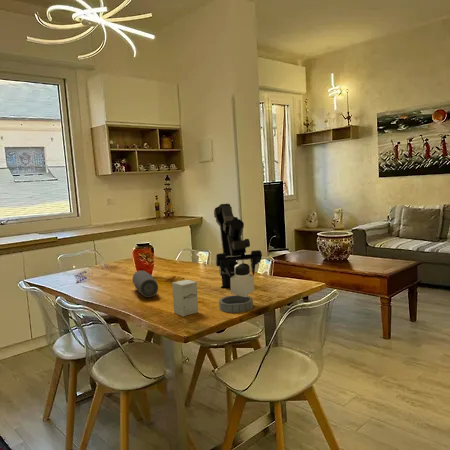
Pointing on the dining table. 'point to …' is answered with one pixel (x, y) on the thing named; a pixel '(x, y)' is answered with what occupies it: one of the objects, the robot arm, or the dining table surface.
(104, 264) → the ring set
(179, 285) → the supplement box
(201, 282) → the dining table surface
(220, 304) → the round dish
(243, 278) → the medicine bottle
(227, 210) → the robot arm
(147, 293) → the bluetooth speaker
